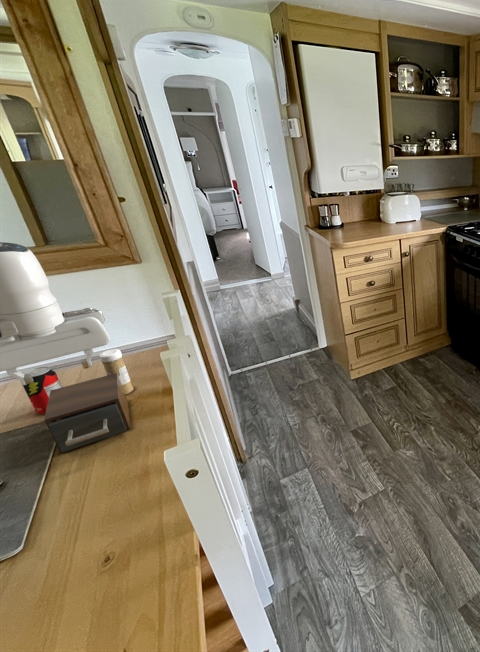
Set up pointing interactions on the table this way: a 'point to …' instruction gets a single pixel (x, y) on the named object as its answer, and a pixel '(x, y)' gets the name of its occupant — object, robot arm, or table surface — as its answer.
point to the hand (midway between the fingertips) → (59, 374)
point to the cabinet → (86, 399)
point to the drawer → (87, 427)
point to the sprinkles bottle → (116, 368)
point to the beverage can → (41, 387)
